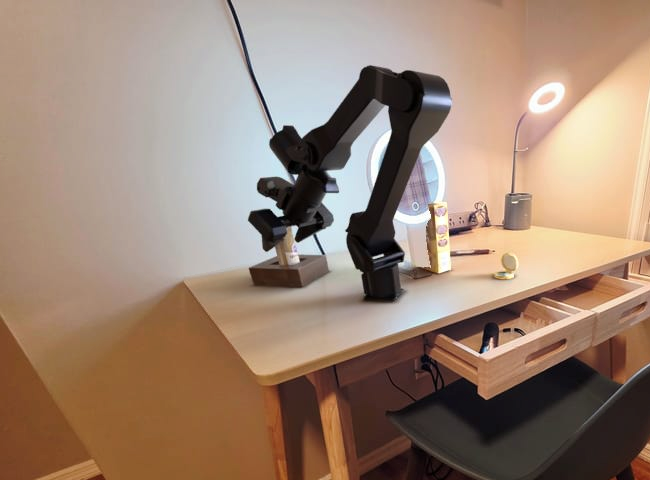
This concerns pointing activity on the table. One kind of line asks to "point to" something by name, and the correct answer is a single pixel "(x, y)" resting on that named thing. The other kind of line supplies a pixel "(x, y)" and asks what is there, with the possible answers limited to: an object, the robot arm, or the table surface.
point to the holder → (289, 271)
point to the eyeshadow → (507, 266)
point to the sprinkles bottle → (287, 250)
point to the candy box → (438, 238)
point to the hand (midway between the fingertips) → (281, 245)
